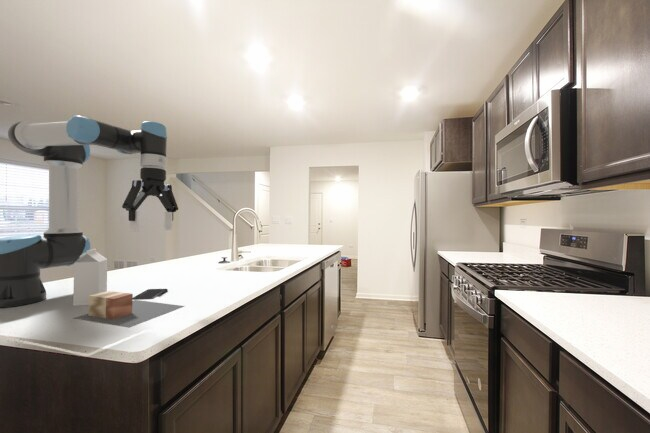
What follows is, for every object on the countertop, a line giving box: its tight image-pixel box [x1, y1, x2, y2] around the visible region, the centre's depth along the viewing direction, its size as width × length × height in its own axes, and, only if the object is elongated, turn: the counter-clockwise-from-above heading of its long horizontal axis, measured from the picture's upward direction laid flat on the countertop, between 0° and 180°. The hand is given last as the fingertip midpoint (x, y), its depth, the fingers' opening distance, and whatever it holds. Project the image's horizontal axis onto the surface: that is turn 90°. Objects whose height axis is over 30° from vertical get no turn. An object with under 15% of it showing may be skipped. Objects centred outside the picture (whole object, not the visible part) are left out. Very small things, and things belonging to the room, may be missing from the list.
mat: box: [73, 299, 185, 328], centre depth 91 cm, size 22×20×1 cm
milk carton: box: [72, 248, 108, 307], centre depth 101 cm, size 7×7×19 cm
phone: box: [132, 288, 169, 301], centre depth 112 cm, size 8×1×15 cm
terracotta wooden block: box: [88, 290, 134, 319], centre depth 89 cm, size 10×6×6 cm, turn 73°
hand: (152, 230), depth 98 cm, fingers open, 13 cm apart
